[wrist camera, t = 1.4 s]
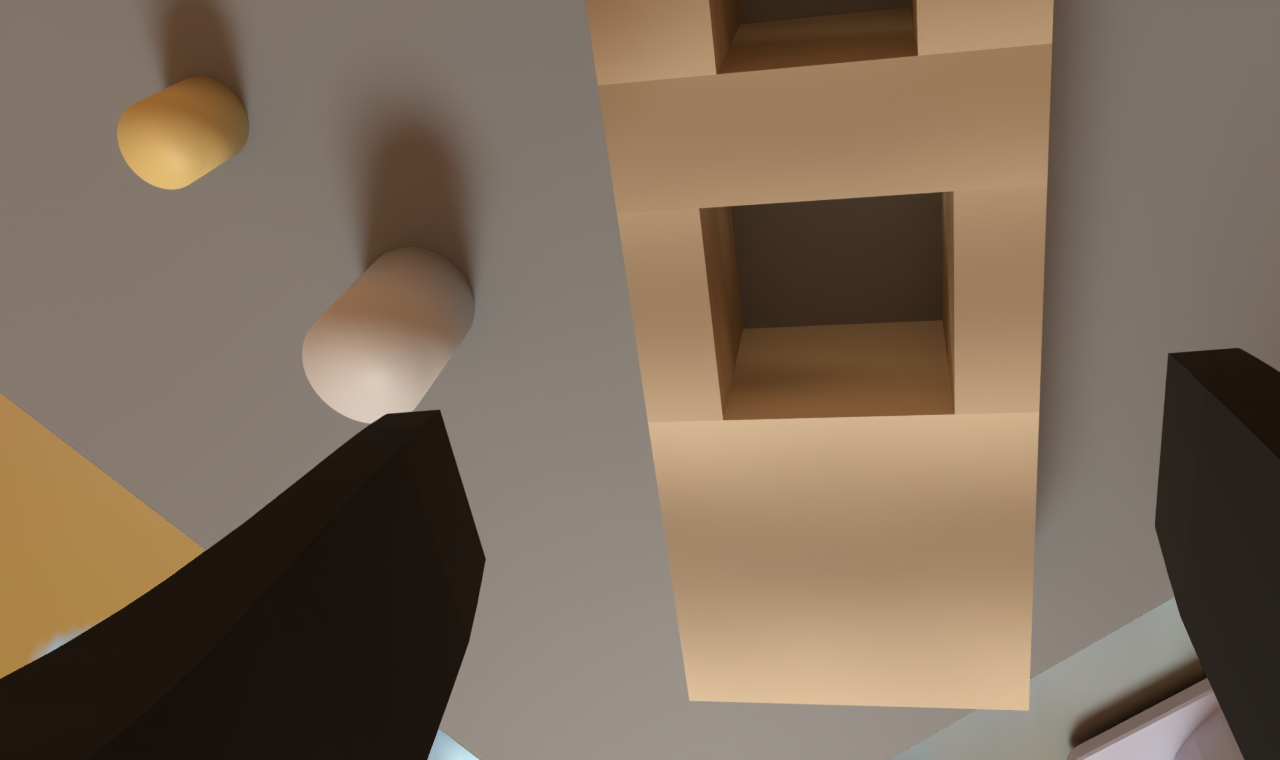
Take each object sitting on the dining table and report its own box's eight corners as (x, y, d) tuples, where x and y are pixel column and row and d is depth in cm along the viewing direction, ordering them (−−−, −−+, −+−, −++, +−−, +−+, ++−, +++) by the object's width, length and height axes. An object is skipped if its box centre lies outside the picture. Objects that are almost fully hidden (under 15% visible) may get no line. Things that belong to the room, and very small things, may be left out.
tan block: (1008, 588, 20) (1029, 710, 18) (711, 586, 21) (689, 700, 19) (1029, -316, 14) (1065, -332, 11) (603, -249, 15) (548, -250, 12)
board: (1637, 256, 17) (1829, 381, 14) (664, 839, 27) (635, 995, 24) (564, -1083, 13) (449, -1401, 9) (-131, 218, 23) (-309, 301, 19)
